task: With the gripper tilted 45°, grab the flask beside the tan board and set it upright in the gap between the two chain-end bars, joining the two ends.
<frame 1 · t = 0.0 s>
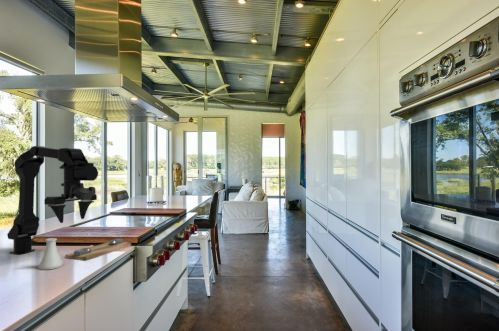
hand: (72, 220, 121), 15 cm above the counter, tool pointing down, fingers open, 9 cm apart
flask: (51, 267, 111), on the counter
tan board: (100, 251, 132), on the counter
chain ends: (100, 246, 132), on the tan board, point 1 cm above the counter
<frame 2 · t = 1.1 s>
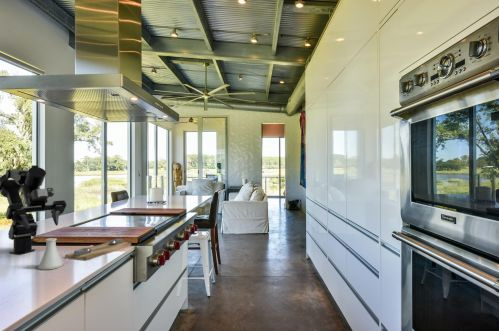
hand: (43, 226, 116), 13 cm above the counter, tool tilted 45°, fingers open, 9 cm apart
nothing on the counter moved.
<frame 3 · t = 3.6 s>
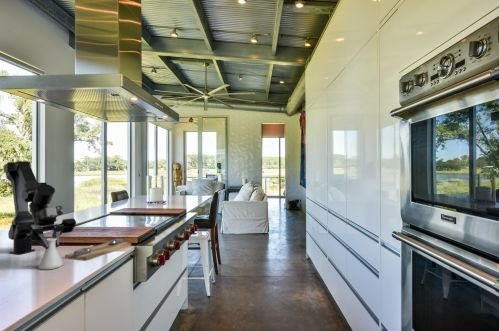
hand: (52, 247, 110), 7 cm above the counter, tool tilted 45°, fingers closed on flask, 3 cm apart
flask: (51, 267, 111), on the counter, touching gripper
when the fingers open (9 cm above the counter, at t = 7.6 s): flask drops 1 cm, resting on tan board.
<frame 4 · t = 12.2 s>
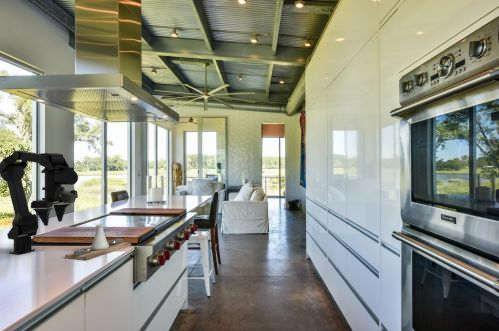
hand: (53, 223, 125), 13 cm above the counter, tool pointing down, fingers open, 9 cm apart
flask: (99, 248, 131), point 1 cm above the counter, touching tan board
at the end: flask 0.2 cm off-centre on the tan board, point 1.0 cm above the tan board's base; flask tilted 0°; the gripper is holding nothing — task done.
